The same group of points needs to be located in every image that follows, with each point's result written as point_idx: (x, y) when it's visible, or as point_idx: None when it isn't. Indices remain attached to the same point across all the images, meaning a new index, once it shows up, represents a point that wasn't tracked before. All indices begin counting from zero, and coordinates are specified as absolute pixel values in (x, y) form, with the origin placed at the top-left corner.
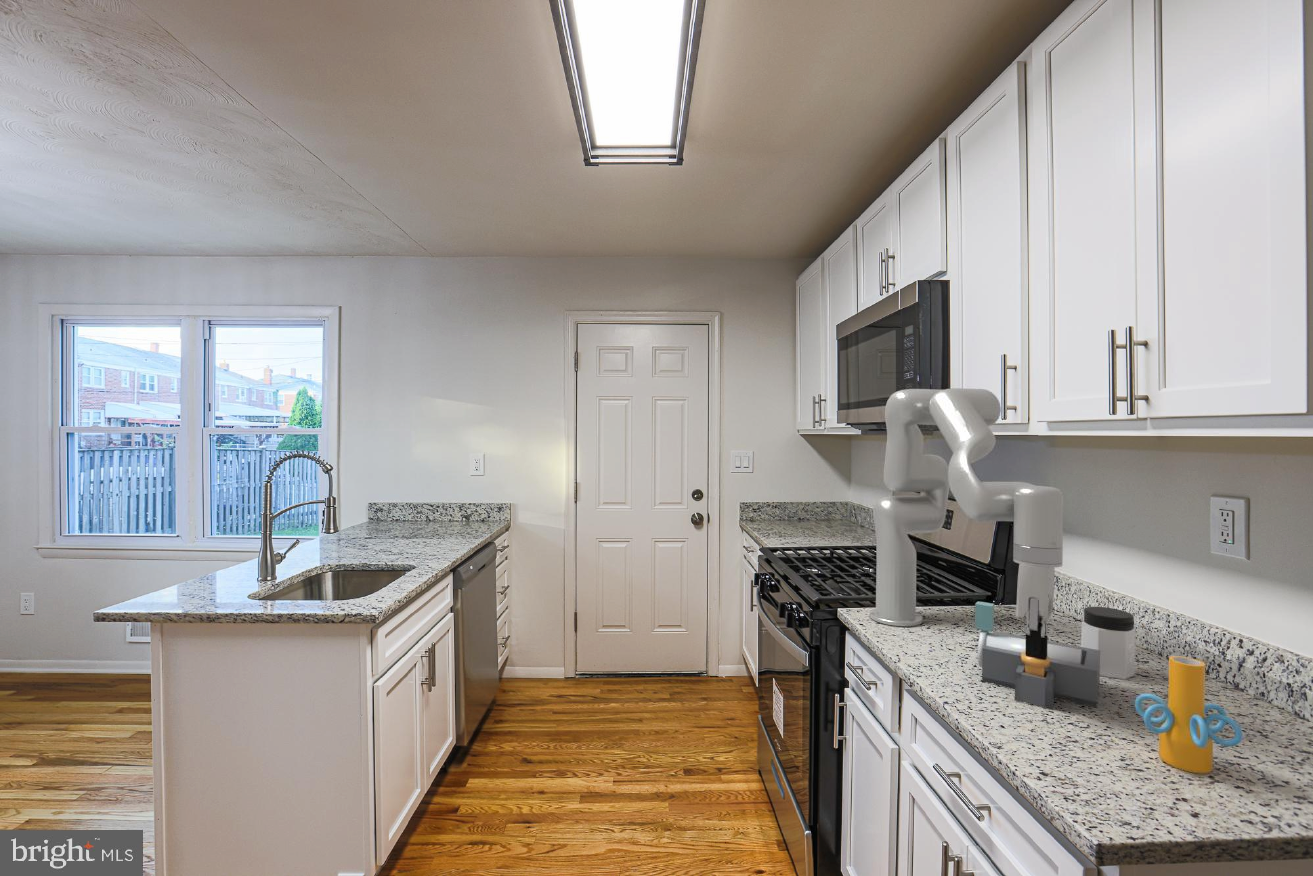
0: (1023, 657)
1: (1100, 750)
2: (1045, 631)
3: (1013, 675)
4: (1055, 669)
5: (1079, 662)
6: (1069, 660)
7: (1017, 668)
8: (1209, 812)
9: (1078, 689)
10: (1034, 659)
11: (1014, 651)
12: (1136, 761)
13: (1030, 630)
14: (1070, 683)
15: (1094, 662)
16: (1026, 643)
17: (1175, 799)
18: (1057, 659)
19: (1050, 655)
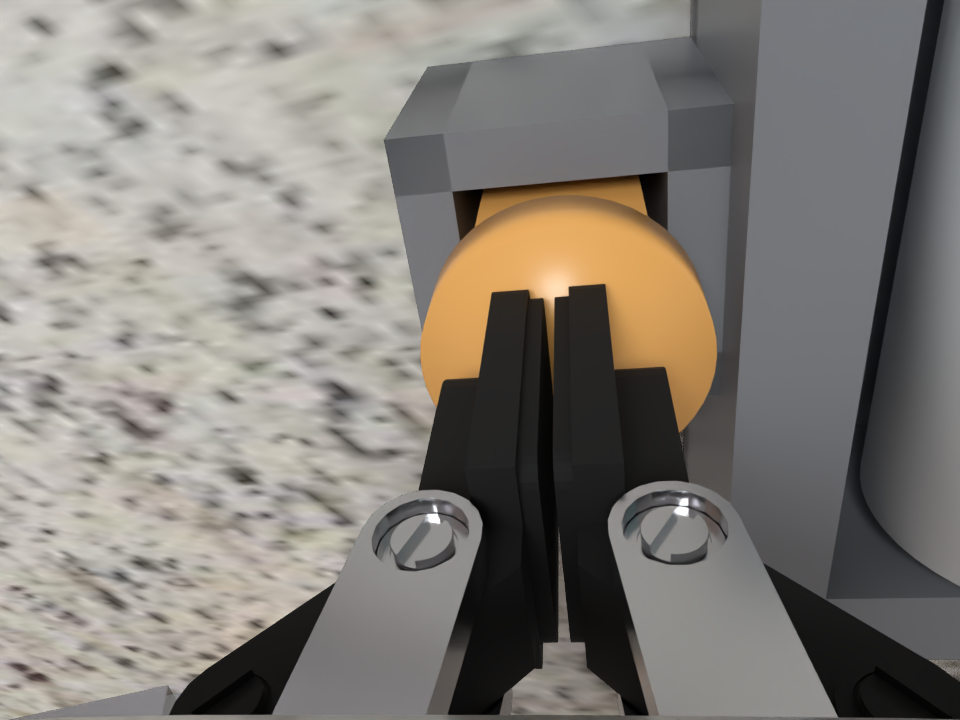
0: (460, 264)
1: (148, 508)
2: (619, 709)
3: (709, 10)
4: (723, 405)
5: (920, 561)
6: (939, 504)
7: (540, 127)
8: (26, 710)
9: (698, 451)
10: (440, 375)
11: (907, 37)
12: (177, 595)
13: (256, 649)
14: (703, 433)
15: (948, 643)
16: (480, 385)
17: (11, 663)
18: (945, 420)
19: None
